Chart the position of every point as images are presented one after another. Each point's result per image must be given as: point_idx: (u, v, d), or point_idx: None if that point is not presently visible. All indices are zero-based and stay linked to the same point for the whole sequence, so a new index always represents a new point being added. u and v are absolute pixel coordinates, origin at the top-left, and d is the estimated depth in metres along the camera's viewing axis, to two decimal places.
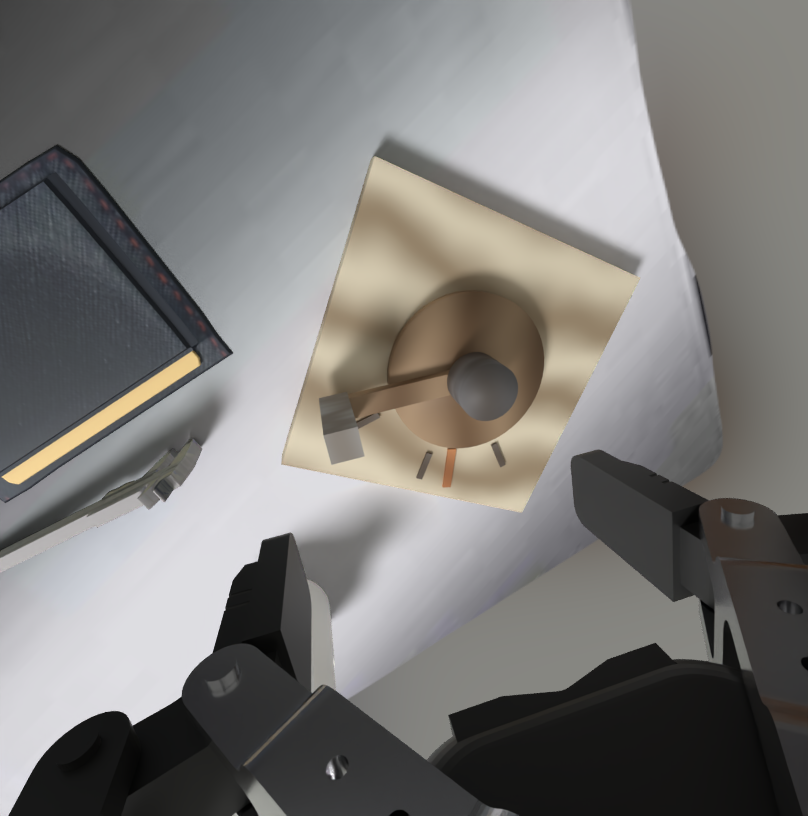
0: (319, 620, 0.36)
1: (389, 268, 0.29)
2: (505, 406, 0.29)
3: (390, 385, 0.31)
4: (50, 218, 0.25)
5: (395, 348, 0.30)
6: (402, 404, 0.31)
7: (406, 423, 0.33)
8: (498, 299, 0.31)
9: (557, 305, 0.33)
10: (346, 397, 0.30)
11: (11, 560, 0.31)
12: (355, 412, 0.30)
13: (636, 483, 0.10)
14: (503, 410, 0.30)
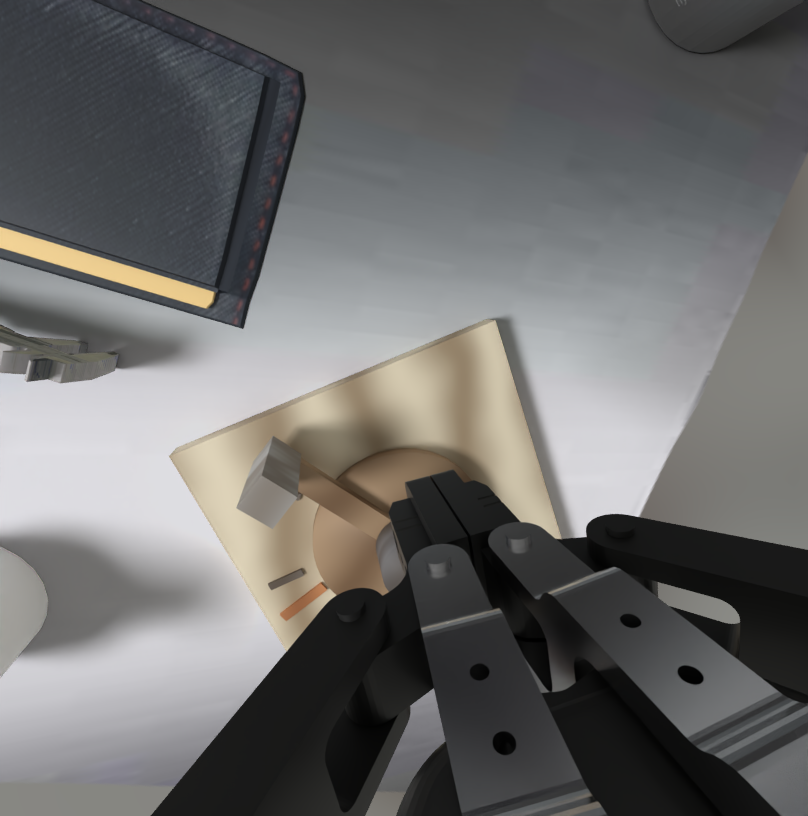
0: (6, 652, 0.25)
1: (428, 398, 0.29)
2: None
3: (339, 484, 0.27)
4: (237, 98, 0.23)
5: (373, 459, 0.28)
6: (333, 509, 0.27)
7: (316, 528, 0.28)
8: None
9: None
10: (298, 458, 0.26)
11: None
12: None
13: (460, 505, 0.11)
14: None
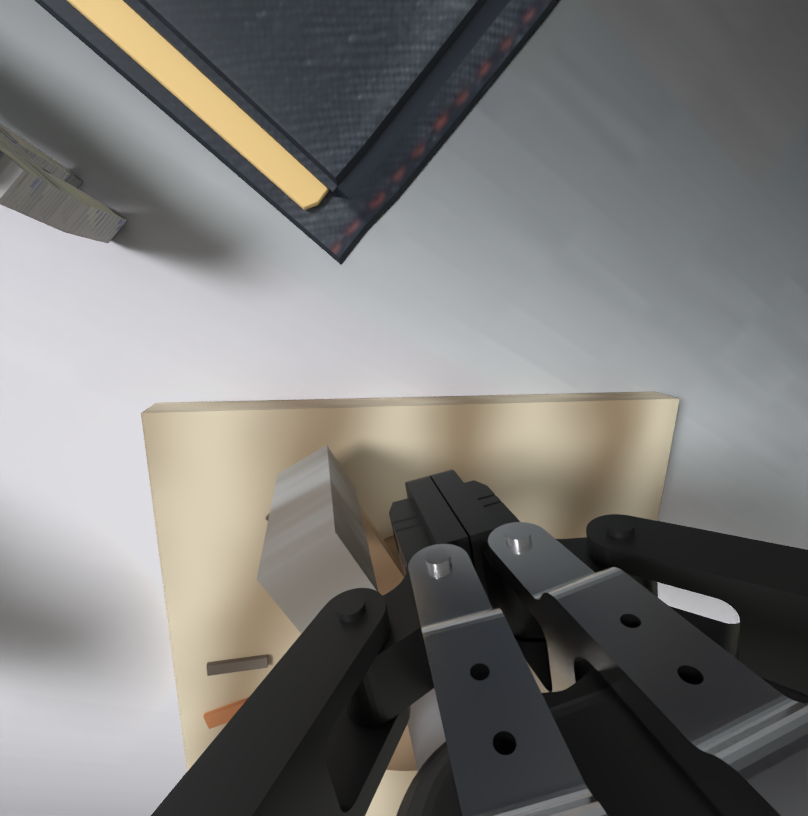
0: None
1: (552, 470, 0.19)
2: None
3: (392, 555, 0.17)
4: None
5: None
6: None
7: None
8: None
9: None
10: (356, 498, 0.15)
11: None
12: None
13: (460, 505, 0.11)
14: None
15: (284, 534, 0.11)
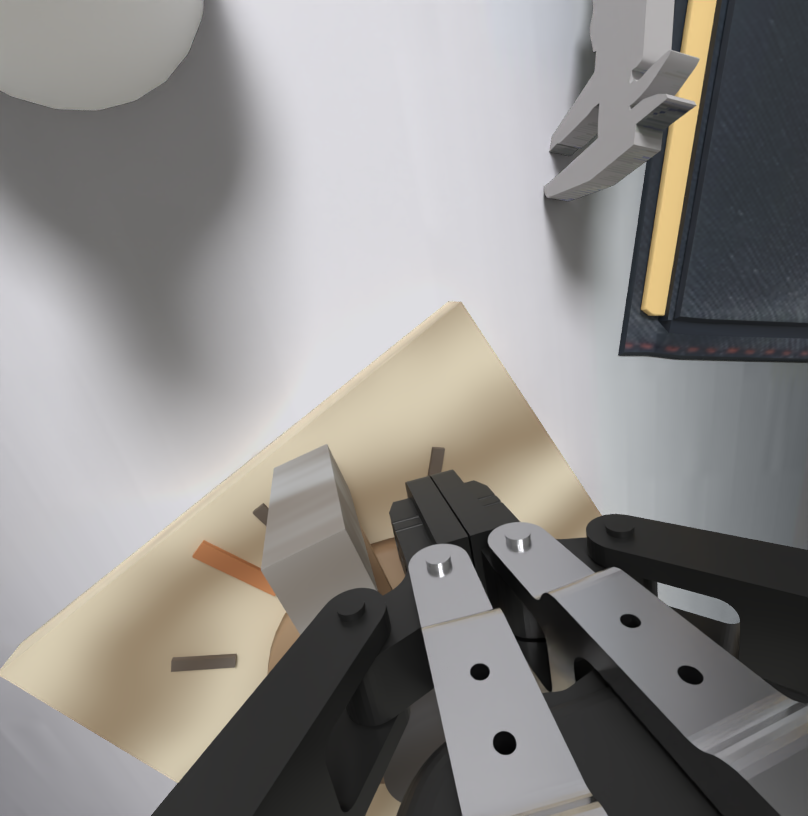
0: (0, 40, 0.10)
1: None
2: None
3: (378, 561, 0.17)
4: None
5: None
6: None
7: None
8: None
9: None
10: (351, 499, 0.15)
11: None
12: None
13: (460, 505, 0.11)
14: None
15: (288, 528, 0.11)
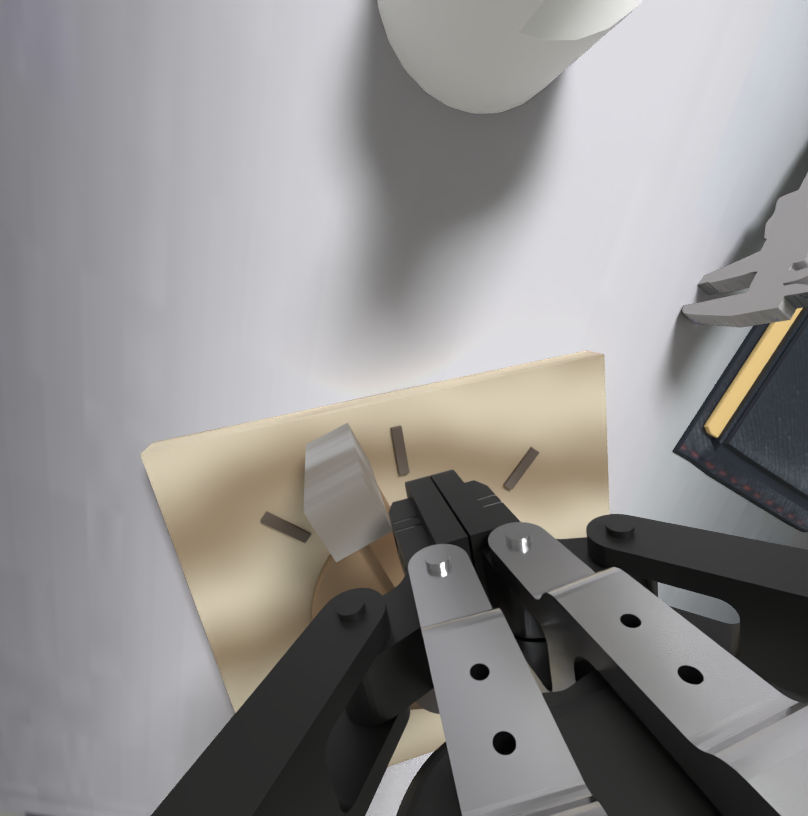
0: (472, 52, 0.15)
1: None
2: None
3: None
4: None
5: None
6: (375, 548, 0.20)
7: (338, 562, 0.20)
8: None
9: None
10: (370, 466, 0.18)
11: None
12: None
13: (460, 505, 0.11)
14: (434, 706, 0.19)
15: (321, 484, 0.14)
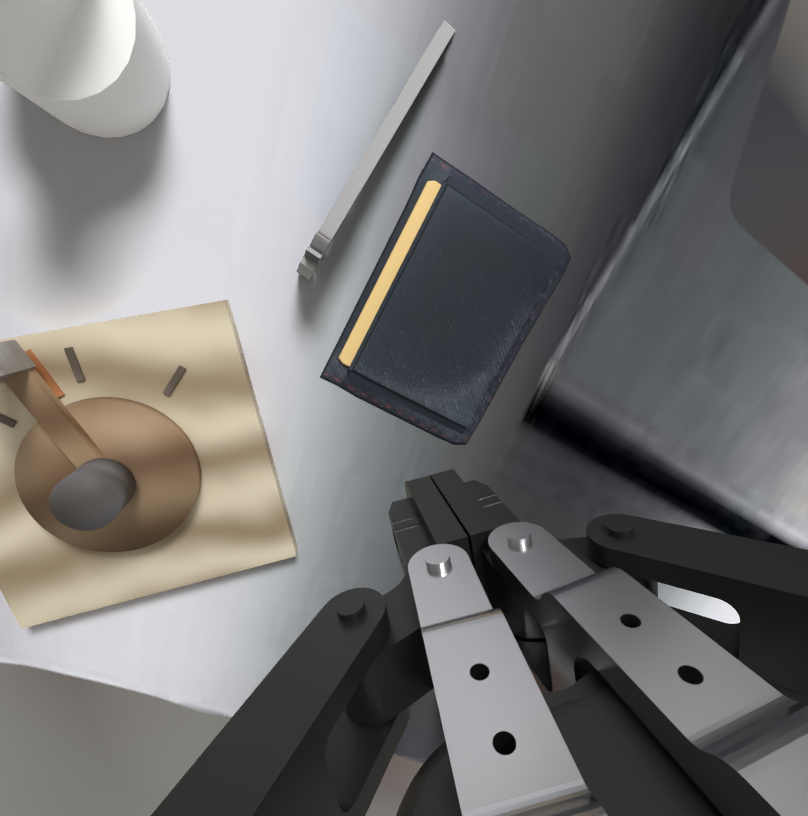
0: (40, 105, 0.25)
1: (241, 505, 0.36)
2: (77, 524, 0.29)
3: (62, 407, 0.30)
4: (458, 410, 0.38)
5: (106, 399, 0.31)
6: (44, 425, 0.30)
7: (26, 437, 0.30)
8: (194, 475, 0.33)
9: (78, 566, 0.35)
10: (24, 366, 0.28)
11: (411, 89, 0.30)
12: (12, 380, 0.29)
13: (460, 505, 0.11)
14: (72, 524, 0.29)
15: None
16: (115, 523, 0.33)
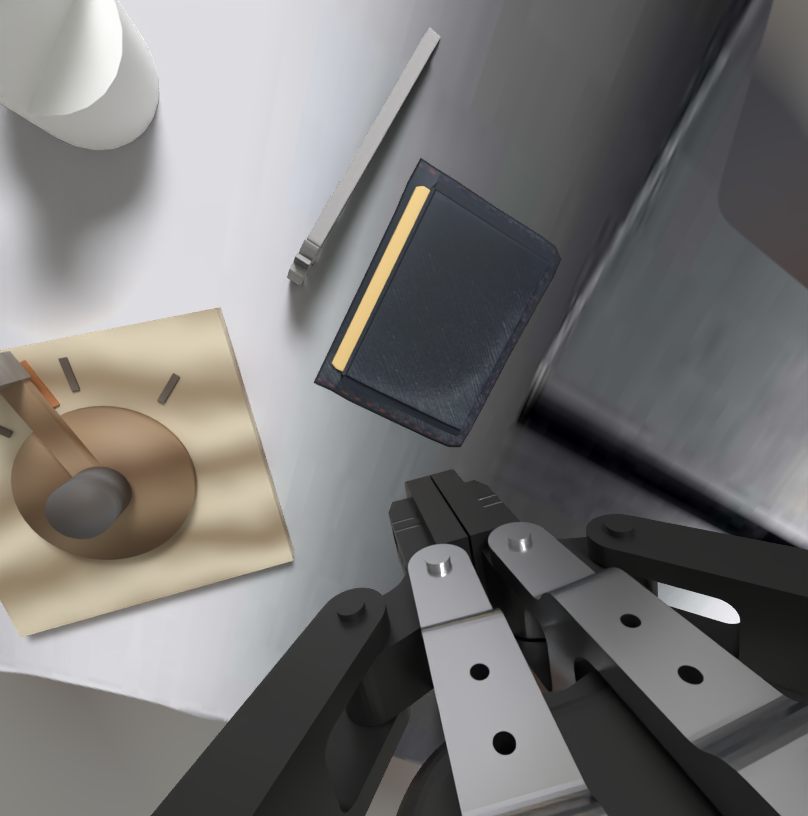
0: (31, 120, 0.26)
1: (237, 510, 0.36)
2: (73, 532, 0.29)
3: (57, 416, 0.30)
4: (451, 412, 0.38)
5: (101, 408, 0.31)
6: (40, 435, 0.30)
7: (23, 447, 0.31)
8: (189, 481, 0.34)
9: (76, 574, 0.35)
10: (19, 377, 0.29)
11: (397, 96, 0.31)
12: (7, 391, 0.29)
13: (460, 505, 0.11)
14: (68, 532, 0.29)
15: None
16: (112, 531, 0.33)
